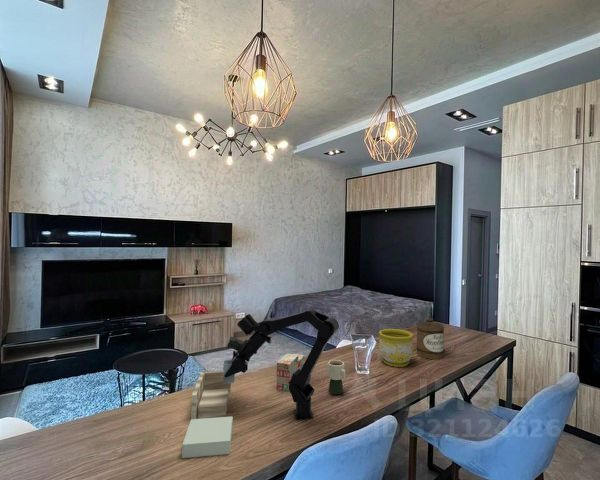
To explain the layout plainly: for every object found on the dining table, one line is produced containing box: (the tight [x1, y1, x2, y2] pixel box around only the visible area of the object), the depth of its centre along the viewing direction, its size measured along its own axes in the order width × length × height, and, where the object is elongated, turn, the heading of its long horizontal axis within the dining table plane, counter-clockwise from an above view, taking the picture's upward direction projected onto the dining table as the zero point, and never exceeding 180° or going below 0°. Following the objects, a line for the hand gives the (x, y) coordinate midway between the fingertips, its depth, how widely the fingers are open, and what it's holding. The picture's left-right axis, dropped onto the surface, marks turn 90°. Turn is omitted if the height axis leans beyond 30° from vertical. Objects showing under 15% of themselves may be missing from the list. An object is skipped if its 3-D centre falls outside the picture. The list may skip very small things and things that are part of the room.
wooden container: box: [416, 317, 445, 360], centre depth 187 cm, size 15×15×22 cm
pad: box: [181, 416, 234, 459], centre depth 103 cm, size 14×14×4 cm
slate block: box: [222, 358, 236, 384], centre depth 125 cm, size 6×4×7 cm, turn 9°
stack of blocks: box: [276, 353, 305, 392], centre depth 150 cm, size 21×6×12 cm, turn 161°
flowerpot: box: [378, 328, 414, 368], centre depth 174 cm, size 18×18×16 cm
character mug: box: [326, 359, 346, 395], centre depth 138 cm, size 11×7×13 cm, turn 38°
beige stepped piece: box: [190, 370, 232, 420], centre depth 127 cm, size 22×13×9 cm, turn 9°
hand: (225, 373), depth 125 cm, fingers closed on slate block, 6 cm apart
